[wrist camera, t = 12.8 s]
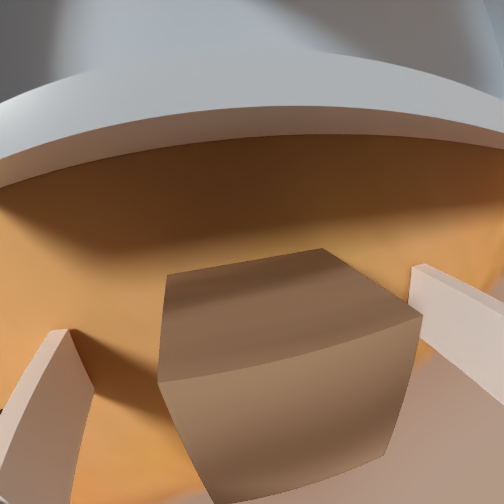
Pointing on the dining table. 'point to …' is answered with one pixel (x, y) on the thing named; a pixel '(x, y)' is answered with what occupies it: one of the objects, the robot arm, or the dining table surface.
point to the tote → (241, 74)
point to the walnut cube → (283, 370)
